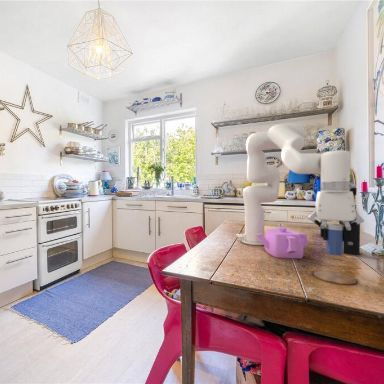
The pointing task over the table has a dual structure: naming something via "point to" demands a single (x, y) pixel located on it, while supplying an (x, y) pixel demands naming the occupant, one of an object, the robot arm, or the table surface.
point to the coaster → (334, 277)
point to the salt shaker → (335, 239)
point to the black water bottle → (353, 236)
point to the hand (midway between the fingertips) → (334, 239)
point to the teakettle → (284, 243)
